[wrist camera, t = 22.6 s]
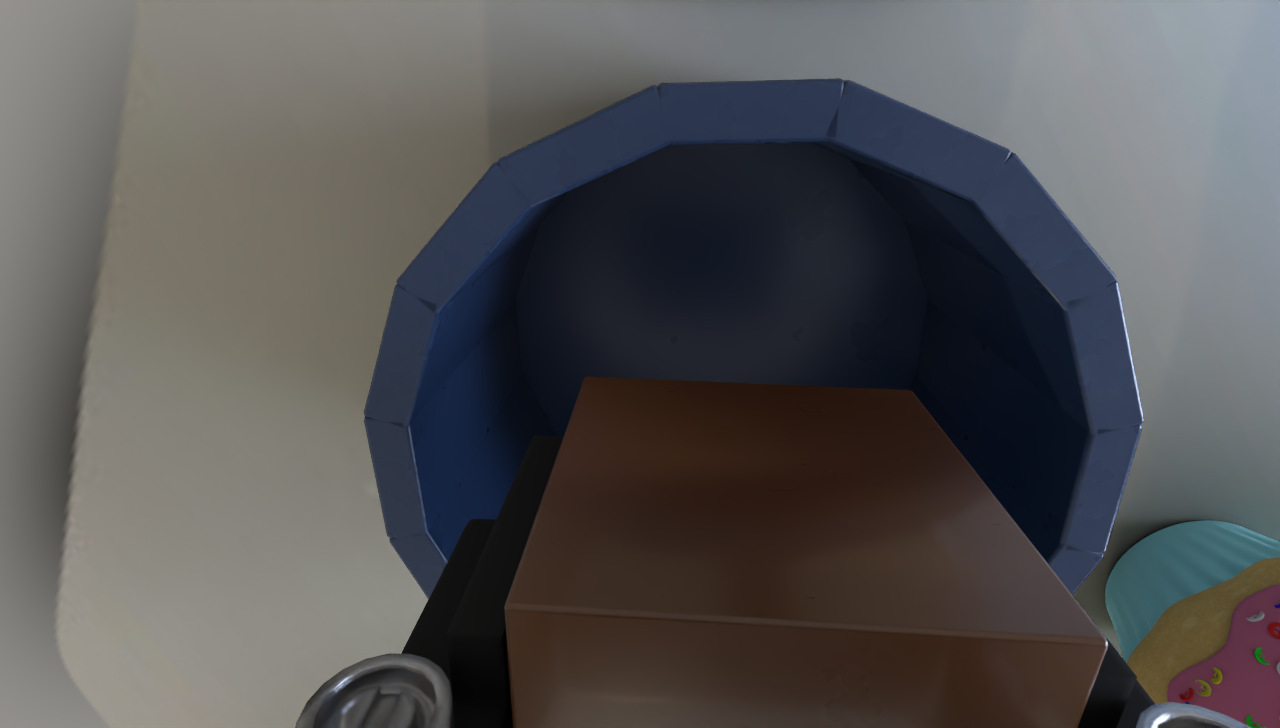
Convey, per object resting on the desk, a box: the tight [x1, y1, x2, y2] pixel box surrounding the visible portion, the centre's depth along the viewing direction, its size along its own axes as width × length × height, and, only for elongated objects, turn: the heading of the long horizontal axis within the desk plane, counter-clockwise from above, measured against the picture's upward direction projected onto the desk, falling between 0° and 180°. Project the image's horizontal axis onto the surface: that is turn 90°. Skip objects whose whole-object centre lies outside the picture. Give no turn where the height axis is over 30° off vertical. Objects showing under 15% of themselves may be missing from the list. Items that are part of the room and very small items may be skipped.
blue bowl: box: [364, 79, 1144, 599], centre depth 15 cm, size 13×13×8 cm
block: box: [504, 376, 1108, 728], centre depth 8 cm, size 5×5×5 cm
